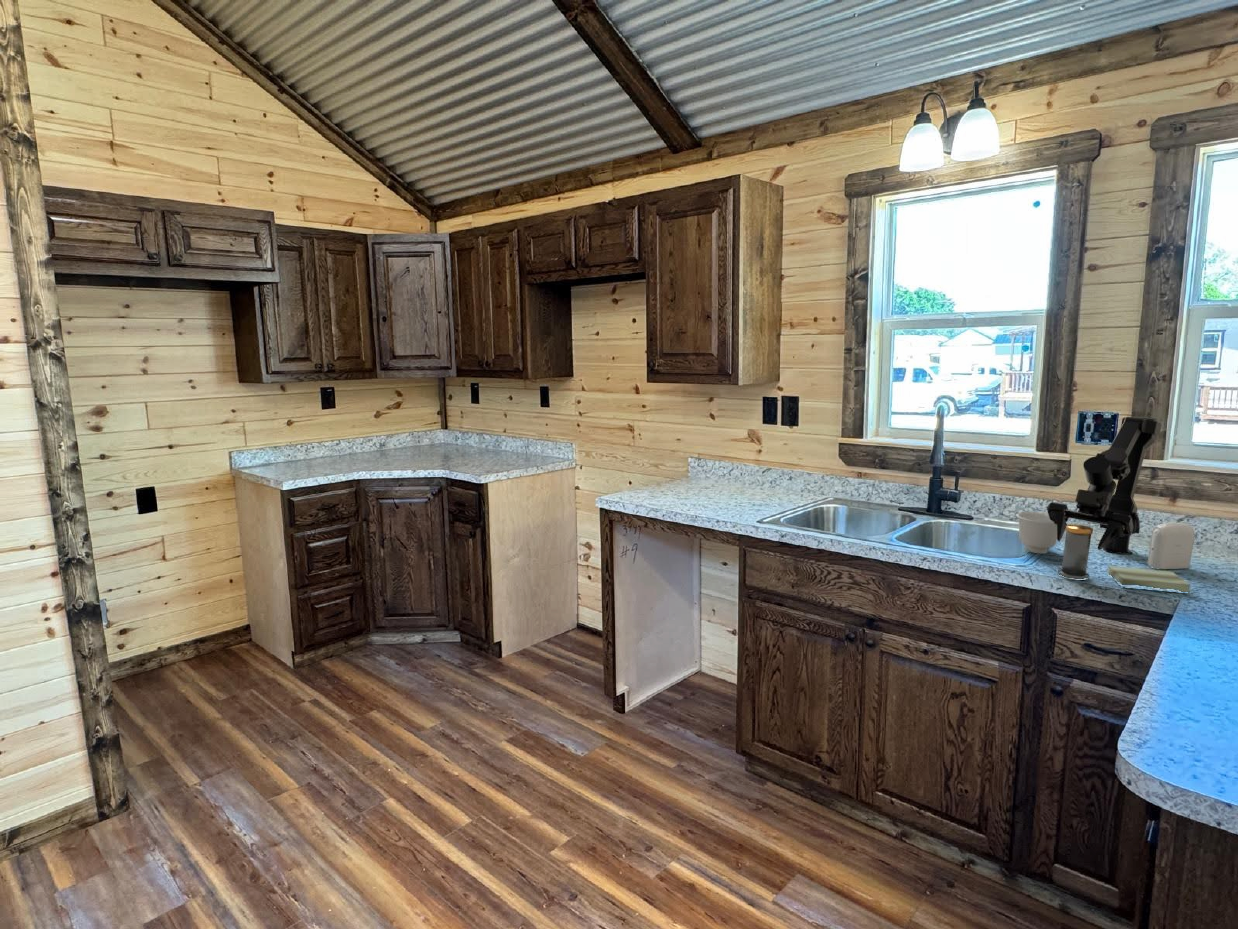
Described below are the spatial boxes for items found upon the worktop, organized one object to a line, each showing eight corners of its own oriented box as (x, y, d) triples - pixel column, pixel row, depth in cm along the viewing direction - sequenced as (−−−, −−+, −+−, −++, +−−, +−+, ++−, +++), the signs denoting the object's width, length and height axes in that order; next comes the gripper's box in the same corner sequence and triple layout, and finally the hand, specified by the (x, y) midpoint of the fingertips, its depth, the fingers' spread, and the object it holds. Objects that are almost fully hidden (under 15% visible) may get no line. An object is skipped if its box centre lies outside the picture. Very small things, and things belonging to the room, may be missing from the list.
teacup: (1060, 546, 213) (1064, 513, 211) (1060, 559, 200) (1065, 524, 198) (1013, 539, 219) (1017, 507, 217) (1011, 552, 206) (1015, 518, 204)
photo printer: (1156, 570, 192) (1164, 525, 190) (1143, 565, 196) (1150, 521, 194) (1192, 569, 193) (1199, 525, 191) (1178, 564, 197) (1185, 520, 195)
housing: (1054, 570, 191) (1060, 522, 188) (1083, 573, 189) (1090, 525, 187) (1062, 579, 184) (1068, 530, 182) (1092, 582, 183) (1099, 532, 180)
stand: (1107, 575, 188) (1108, 565, 188) (1170, 580, 184) (1171, 571, 184) (1121, 588, 179) (1123, 578, 178) (1188, 594, 175) (1189, 584, 174)
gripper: (1054, 472, 193) (1032, 519, 188) (1137, 484, 179) (1116, 535, 174) (1060, 496, 199) (1040, 542, 194) (1141, 510, 185) (1122, 560, 180)
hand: (1078, 544), depth 186 cm, fingers open, 9 cm apart
